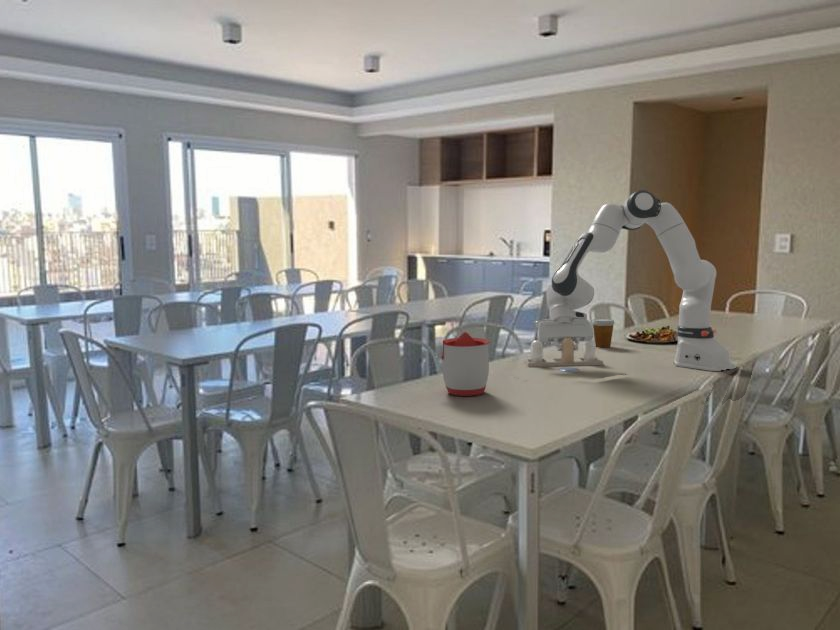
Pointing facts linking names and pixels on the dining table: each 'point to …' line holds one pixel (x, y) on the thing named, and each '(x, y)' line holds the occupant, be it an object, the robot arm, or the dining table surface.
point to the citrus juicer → (465, 365)
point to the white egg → (536, 351)
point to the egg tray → (558, 363)
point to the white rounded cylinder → (589, 350)
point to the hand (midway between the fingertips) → (568, 349)
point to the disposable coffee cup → (603, 332)
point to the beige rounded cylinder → (567, 351)
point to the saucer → (568, 369)
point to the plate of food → (654, 335)
